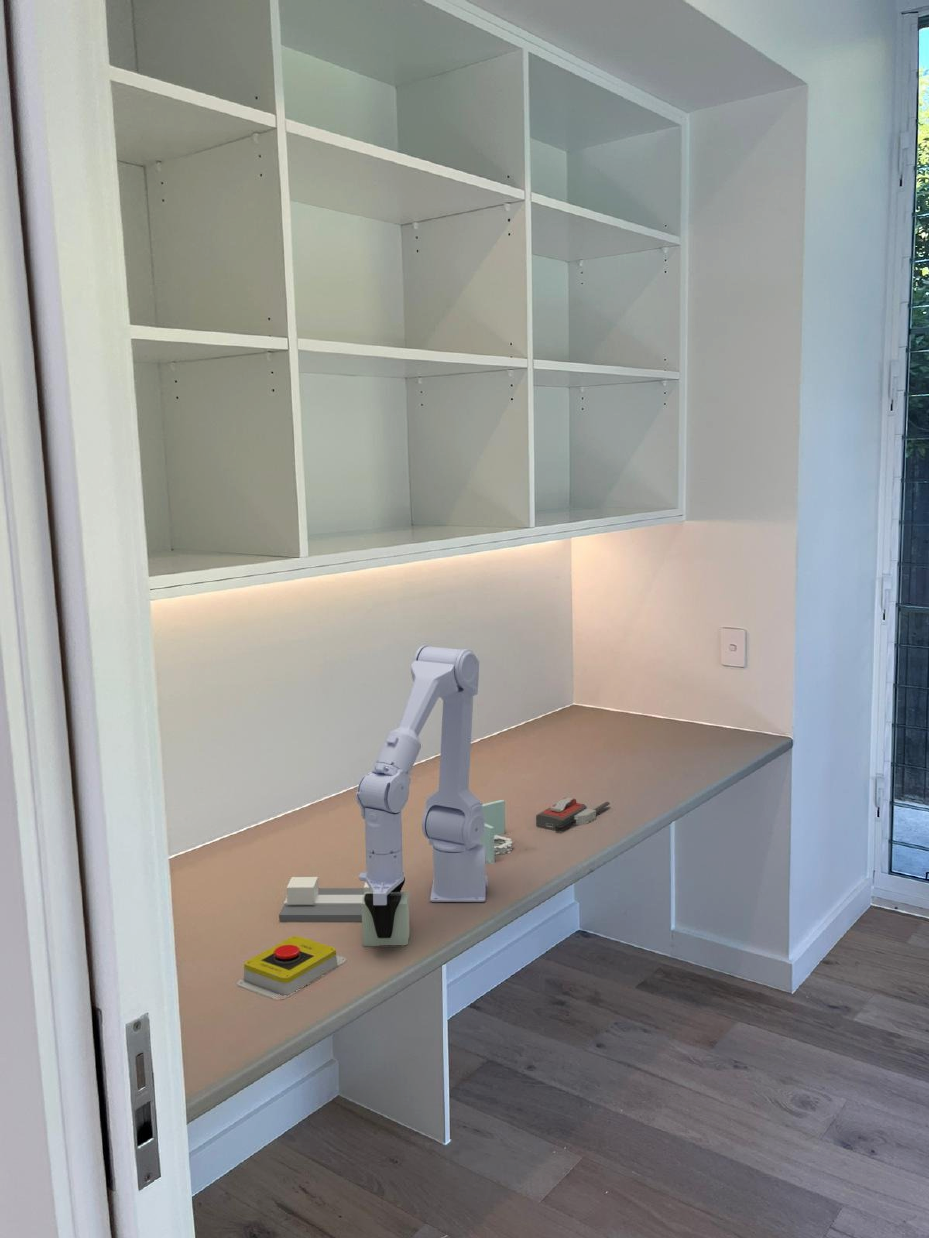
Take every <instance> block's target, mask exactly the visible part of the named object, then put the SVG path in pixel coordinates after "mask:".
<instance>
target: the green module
mask: <svg viewBox="0 0 929 1238" xmlns="http://www.w3.org/2000/svg"><path fill="white" fill-rule="evenodd" d="M365 894H373V892H365ZM365 894H364V897H365ZM389 894H390V896H401V900H400V902H399V905H398V907H397V909H396V912H395V916H394V924H393V931H392V935H391V938H378V937H377V934H376V930H375V926H374V922H373V918H372V915H371V913H370V911H369V909H368V907H367V906H366V905H365V902H364V897H363V900H362V904H361V906H362V922H361V931H362V936H361V937H362V947H379V946H378V945H407V944H409V940H408V939H410V934H411V933H410V931H411V930H410V893H409V891H401V892H390V893H389ZM407 946H408V945H407Z"/></svg>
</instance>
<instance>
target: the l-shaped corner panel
mask: <svg viewBox="0 0 929 1238" xmlns="http://www.w3.org/2000/svg"><path fill="white" fill-rule="evenodd" d="M482 813H483V819H484V823H485V828H484V834H483V837H482V839H481V841H480V842H479V843H478V844H483V845H485V854H486V863H488V864H490V865H491V864H495V856H496V855H506V854H510V853H511V851H513V847H514V842H513V841H512V840H513V839H512V838H508V837H505V836H502V835H506V800H504V799H499V800H495V801H491V802H486V803H482Z"/></svg>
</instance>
